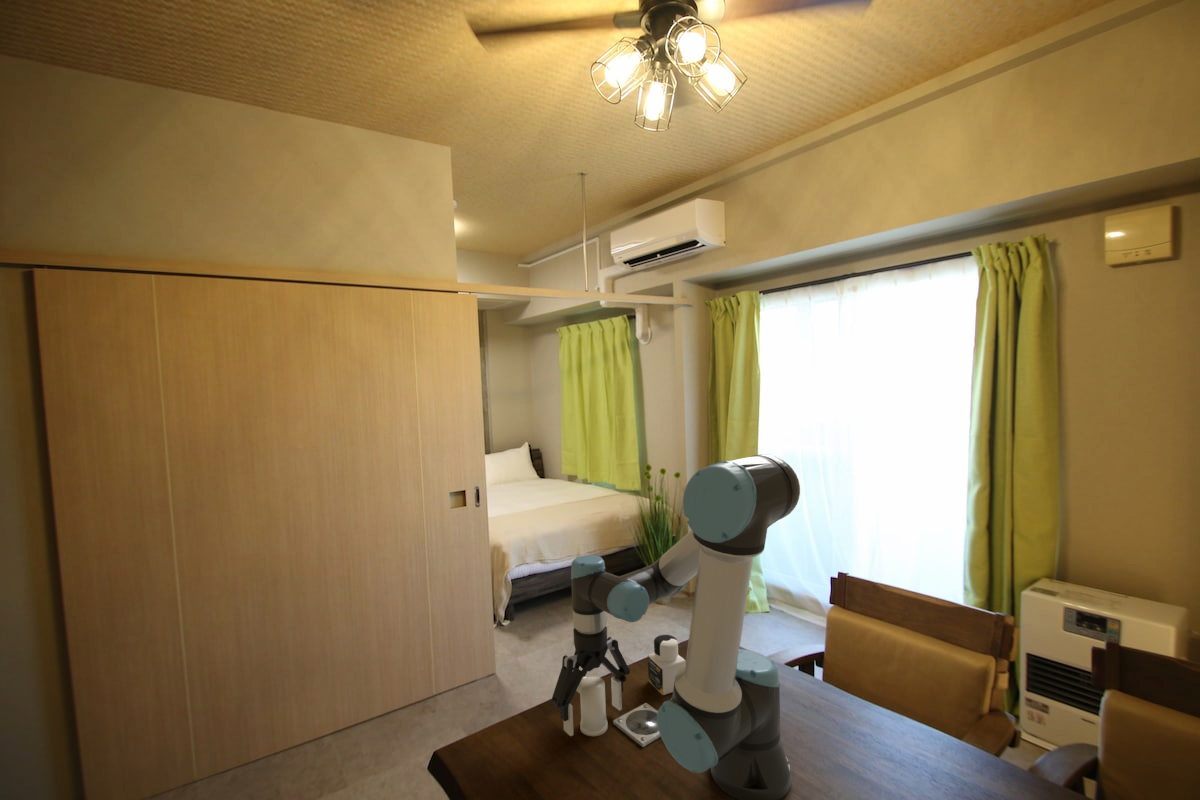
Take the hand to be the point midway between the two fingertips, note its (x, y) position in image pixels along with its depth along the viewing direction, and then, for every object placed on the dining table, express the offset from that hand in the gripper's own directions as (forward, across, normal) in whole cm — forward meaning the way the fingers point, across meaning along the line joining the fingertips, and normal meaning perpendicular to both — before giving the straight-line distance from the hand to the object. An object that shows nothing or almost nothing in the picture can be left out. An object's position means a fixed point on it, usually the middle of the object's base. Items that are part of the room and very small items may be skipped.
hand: (593, 719), depth 118 cm
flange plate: (+2, -9, +7) cm, 12 cm away
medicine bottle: (+2, -24, -1) cm, 24 cm away
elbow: (+2, 0, -2) cm, 2 cm away
